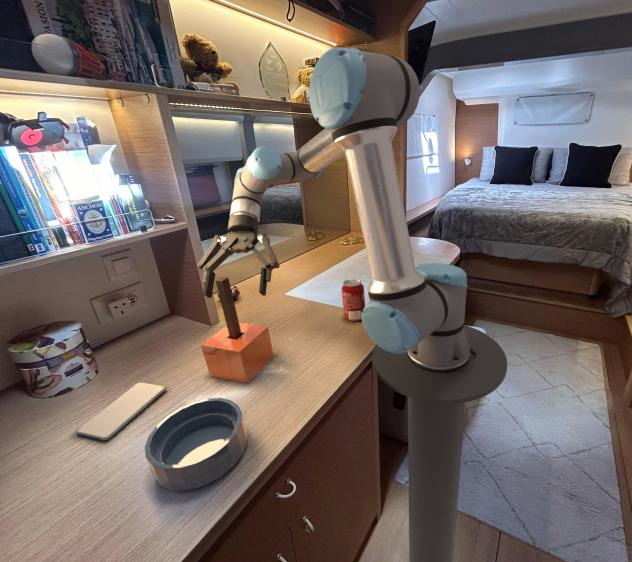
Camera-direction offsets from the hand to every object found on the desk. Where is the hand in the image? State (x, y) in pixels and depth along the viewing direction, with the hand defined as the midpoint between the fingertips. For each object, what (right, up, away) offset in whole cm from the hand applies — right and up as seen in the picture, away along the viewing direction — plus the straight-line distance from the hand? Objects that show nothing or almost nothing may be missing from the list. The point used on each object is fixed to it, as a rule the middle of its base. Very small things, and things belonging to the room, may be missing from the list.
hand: (234, 295), depth 83 cm
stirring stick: (+1, -18, +3) cm, 18 cm away
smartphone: (-19, -25, -10) cm, 33 cm away
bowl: (+3, -28, -21) cm, 35 cm away
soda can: (+28, -8, +23) cm, 37 cm away
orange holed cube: (+1, -18, +3) cm, 18 cm away
